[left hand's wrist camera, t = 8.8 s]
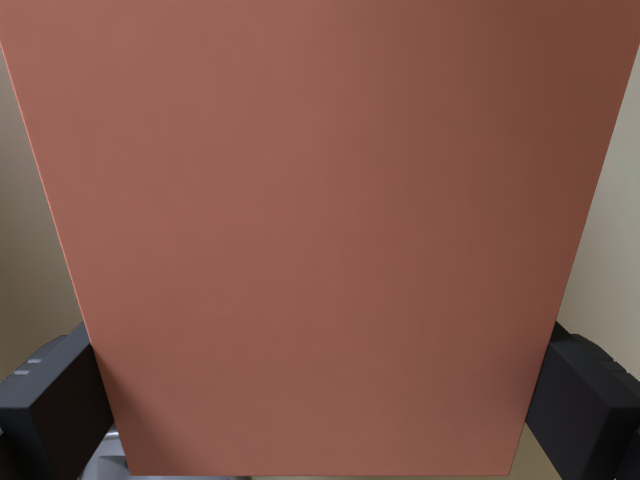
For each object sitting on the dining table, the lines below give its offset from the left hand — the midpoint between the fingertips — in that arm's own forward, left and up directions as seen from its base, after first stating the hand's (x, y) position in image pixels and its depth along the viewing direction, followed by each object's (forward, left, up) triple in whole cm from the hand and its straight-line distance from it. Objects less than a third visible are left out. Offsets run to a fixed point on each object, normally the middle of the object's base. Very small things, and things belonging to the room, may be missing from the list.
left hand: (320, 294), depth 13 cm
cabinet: (+4, -3, -6) cm, 8 cm away
